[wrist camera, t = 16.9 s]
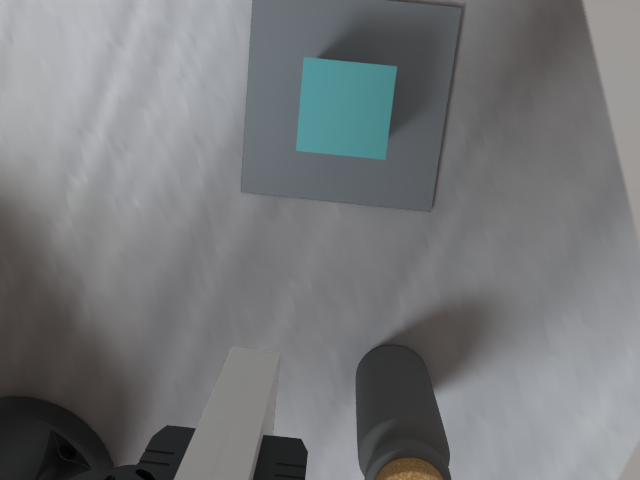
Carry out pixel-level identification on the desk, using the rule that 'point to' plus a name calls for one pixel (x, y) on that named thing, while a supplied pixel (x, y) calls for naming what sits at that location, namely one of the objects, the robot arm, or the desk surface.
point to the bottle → (398, 418)
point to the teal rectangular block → (345, 108)
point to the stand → (353, 46)
